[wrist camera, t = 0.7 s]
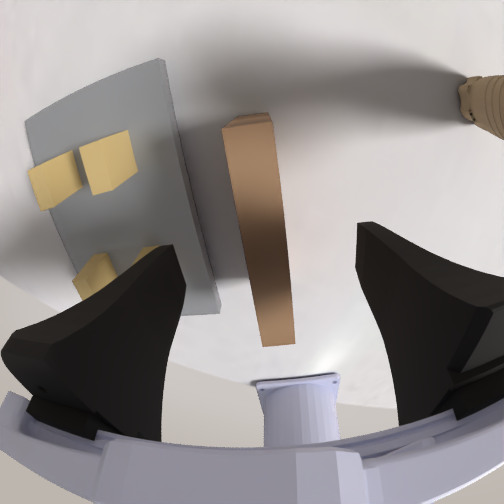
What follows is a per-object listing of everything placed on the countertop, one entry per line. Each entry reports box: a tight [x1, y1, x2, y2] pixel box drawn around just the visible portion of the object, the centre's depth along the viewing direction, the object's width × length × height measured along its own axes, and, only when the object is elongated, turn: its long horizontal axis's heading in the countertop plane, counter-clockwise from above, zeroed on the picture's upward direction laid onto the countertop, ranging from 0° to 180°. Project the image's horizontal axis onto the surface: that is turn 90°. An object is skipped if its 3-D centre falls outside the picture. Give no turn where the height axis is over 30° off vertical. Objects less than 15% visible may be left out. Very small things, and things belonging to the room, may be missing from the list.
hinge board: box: [25, 58, 221, 316], centre depth 14 cm, size 16×10×4 cm, turn 8°
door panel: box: [221, 113, 295, 347], centre depth 13 cm, size 10×2×6 cm, turn 8°
